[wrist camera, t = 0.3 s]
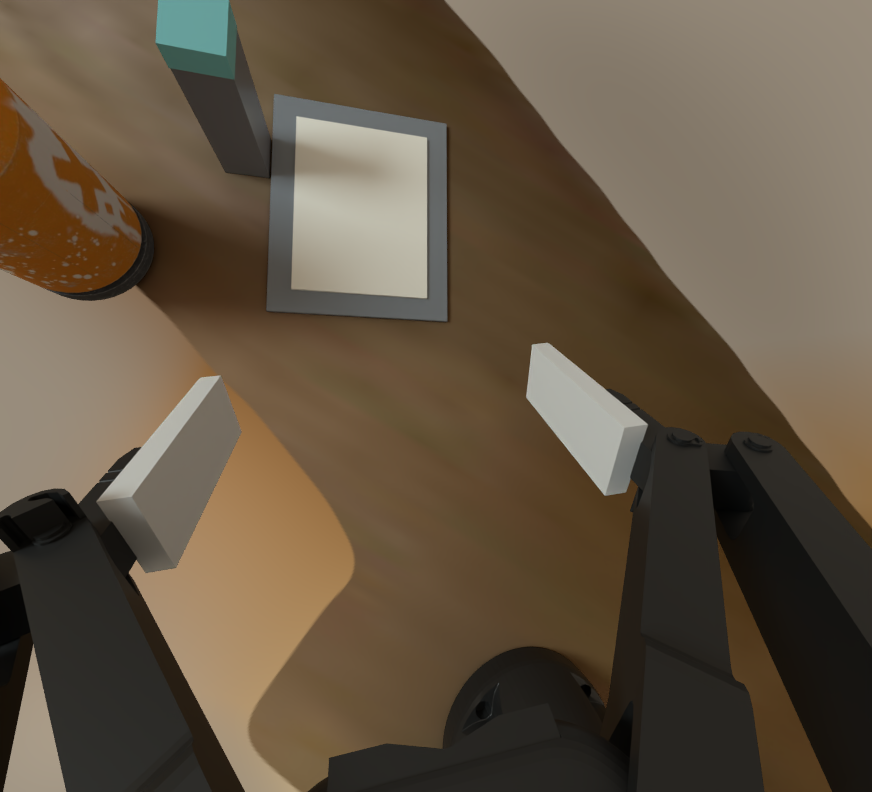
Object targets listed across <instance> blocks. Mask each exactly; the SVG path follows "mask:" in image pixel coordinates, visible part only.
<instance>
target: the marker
mask: <svg viewBox="0 0 872 792" xmlns="http://www.w3.org/2000/svg"><path fill="white" fill-rule="evenodd" d="M156 45H157V46H158V48H159V50H160V52H161V54H162V56H163V58H164V60H165V61H166V63H167V65H168V67H169V68H171V70H172V72H173V74H174V76H175V78H176V80H177V82H178V84H179V85H180V87H181V89H182V91H183V93H184V95H185V97H186V99H187V101H188V102H189V104H190V106H191V108H192V110H193V112H194V114H195V116H196V118H197V119H198V121H199V123H200V125H201V127H202V129H203V131H204V133H205V135H206V136H207V138H208V140H209V142H210V144H211V146H212V148H213V150H214V152H215V153H216V155H217V157H218V159H219V161H220V163H221V165H222V167H223V169H224V170H225V172H227V173H235V174H243V175H251V176H258V177H266V178H270V155H271V138H270V135H269V132H268V129H267V125H266V122H265V119H264V116H263V112H262V109H261V106H260V103H259V100H258V96H257V93H256V90H255V87H254V83H253V80H252V77H251V74H250V70H249V67H248V64H247V61H246V57H245V54H244V51H243V48H242V45H241V41H240V38H239V35H238V32H237V25H236V22H235V18H234V15H233V12H232V9H231V5H230V2H229V0H158V14H157V29H156Z"/></svg>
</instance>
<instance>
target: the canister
mask: <svg viewBox="0 0 872 792" xmlns="http://www.w3.org/2000/svg"><path fill="white" fill-rule="evenodd" d="M153 254H154V241H153V236H152V233H151V230H150V228H149V225H148V224H147V222H146V220H145V219H144V218H143V216H142V215H141V214H140V213H139V212H138V211H137V210H136V209H135V208H134V207H133V206H132V205H131V204H130V203H129V202H128V201H127V200H126V199H125V198H124V197H123V196H122V195H121V194H120V193H119V192H118V191H117V190H116V189H115V188H113V187H112V186H111V185H110V184H109V183H108V182H107V181H106V180H105V179H104V178H103V177H102V176H101V175H100V174H99V173H98V172H97V171H96V170H95V169H94V168H93V167H92V166H91V165H90V164H89V163H88V162H86V161H85V160H84V159H83V158H82V157H81V156H80V155H79V154H78V153H77V152H76V151H75V150H74V149H73V148H72V147H71V146H70V145H69V144H68V143H67V142H66V141H65V140H64V139H63V138H62V137H61V136H60V135H58V134H57V133H56V132H55V131H54V130H53V129H52V128H51V127H50V126H49V125H48V124H47V123H46V122H45V121H44V120H43V119H42V118H41V117H40V116H39V115H38V114H37V113H36V112H35V111H34V110H33V109H31V108H30V107H29V106H28V105H27V104H26V103H25V102H24V101H23V100H22V99H21V98H20V97H19V96H18V95H17V94H16V93H15V92H14V91H13V90H12V89H11V88H10V87H9V86H8V85H7V84H6V83H4V82H3V81H2V80H1V79H0V269H1V270H3V271H5V272H8V273H10V274H12V275H15V276H17V277H19V278H22V279H24V280H26V281H29V282H31V283H33V284H36V285H38V286H40V287H42V288H45V289H47V290H50V291H52V292H54V293H57V294H59V295H61V296H64V297H67V298H71V299H77V300H89V301H92V300H102V299H107V298H111V297H115V296H117V295H119V294H122V293H124V292H126V291H127V290H129V289H131V288H132V287H134V286H135V285H136V284H137V283H138V282H139V281H140V280H141V279H142V278H143V277H144V276H145V274H146V272H147V271H148V269H149V267H150V265H151V262H152V259H153Z"/></svg>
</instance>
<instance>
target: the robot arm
mask: <svg viewBox="0 0 872 792" xmlns="http://www.w3.org/2000/svg"><path fill="white" fill-rule="evenodd" d="M526 398H527V399H528V400H529V401H530V403H531V404H532V405H533V406H534V408H535V409H536V410H537V411H538V413H539V414H540V415H541V416H542V418H543V419H544V420H545V421H546V423H547V424H548V425H549V426H550V428H551V429H552V430H553V431H554V433H555V434H556V435H557V436H558V438H559V439H560V440H561V441H562V443H563V444H564V445H565V446H566V448H567V449H568V450H569V451H570V453H571V454H572V455H573V456H574V458H575V459H576V460H577V461H578V463H579V464H580V465H581V466H582V468H583V469H584V470H585V471H586V473H587V474H588V475H589V476H590V478H591V479H592V480H593V481H594V483H595V484H596V485H597V486H598V488H599V489H600V490H601V491H602V493H603V494H604V495H605V496H607V495H613V494H619V493H625V492H626V491H627V488H628V485H629V482H630V478H631V479H632V480H633V481H634V482H635V483H636V484H637V485H638V489H637V492H636V495H635V498H634V501H633V504H632V507H631V510H630V511H631V512H633V518H632V526H631V533H630V541H629V548H628V556H627V563H626V571H625V578H624V586H623V593H622V601H621V608H620V616H619V623H618V631H617V639H616V646H615V654H614V661H613V669H612V676H611V684H610V691H609V698H608V703H607V708H605V706H604V703H603V701H602V700H601V698H600V696H599V694H598V693H597V691H596V690H595V688H594V687H593V685H592V684H591V683H590V682H589V681H588V679H587V678H586V677H585V676H584V675H583V674H582V673H581V672H580V670H579V669H578V668H577V667H576V666H575V665H574V664H573V663H572V662H571V661H569V660H568V659H567V658H565V657H564V656H562V655H560V654H558V653H556V652H554V651H551V650H548V649H544V648H538V647H524V648H518V649H513V650H510V651H507V652H504V653H502V654H500V655H498V656H496V657H494V658H492V659H491V660H489V661H488V662H486V663H485V664H484V665H483V666H481V667H480V668H479V669H478V670H477V671H476V672H475V673H474V674H473V675H472V676H471V677H470V678H469V679H468V681H467V682H466V683H465V684H464V686H463V687H462V689H461V690H460V692H459V694H458V695H457V697H456V699H455V701H454V703H453V705H452V708H451V710H450V713H449V715H448V719H447V722H446V726H445V731H444V738H443V749H437V748H427V747H416V746H406V745H396V744H383V745H379V746H375V747H371V748H367V749H363V750H359V751H355V752H351V753H347V754H343V755H339V756H335V757H331V758H329V771H328V777H327V778H325V779H324V780H322V781H321V782H319V783H318V784H317V785H315V786H314V787H313V788H312V789H310V790H309V791H308V792H764V786H763V779H762V771H761V764H760V757H759V750H758V743H757V736H756V729H755V722H754V715H753V708H752V704H751V699H750V695H749V692H748V691H747V689H746V687H745V685H744V684H742V683H740V682H738V681H736V680H735V679H734V677H733V675H732V670H731V664H730V655H729V645H728V636H727V627H726V618H725V609H724V599H723V590H722V581H721V572H720V563H719V553H718V544H717V538H718V540H719V542H720V544H721V546H722V549H723V551H724V553H725V555H726V557H727V560H728V562H729V564H730V566H731V568H732V571H733V573H734V575H735V577H736V580H737V582H738V584H739V586H740V588H741V591H742V593H743V595H744V597H745V599H746V602H747V604H748V606H749V608H750V611H751V613H752V615H753V617H754V619H755V622H756V624H757V626H758V628H759V630H760V633H761V635H762V637H763V639H764V642H765V644H766V646H767V648H768V650H769V653H770V655H771V657H772V659H773V661H774V664H775V666H776V668H777V670H778V673H779V675H780V677H781V679H782V681H783V684H784V686H785V688H786V690H787V692H788V695H789V697H790V699H791V701H792V704H793V706H794V708H795V710H796V712H797V715H798V717H799V719H800V721H801V723H802V726H803V728H804V730H805V732H806V735H807V737H808V739H809V741H810V743H811V746H812V748H813V750H814V752H815V754H816V757H817V759H818V761H819V763H820V765H821V768H822V770H823V772H824V774H825V777H826V779H827V781H828V783H829V785H830V788H831V790H832V792H872V549H871V548H870V547H869V546H868V545H867V543H866V542H865V541H864V540H863V539H862V538H861V536H860V535H859V534H858V533H857V532H856V531H855V529H854V528H853V527H852V526H851V525H850V524H849V522H848V521H847V520H846V519H845V518H844V517H843V515H842V514H841V513H840V512H839V511H838V510H837V508H836V507H835V506H834V505H833V504H832V503H831V501H830V500H829V499H828V498H827V497H826V496H825V494H824V493H823V492H822V491H821V490H820V489H819V487H818V486H817V485H816V484H815V483H814V482H813V480H812V479H811V478H810V477H809V476H808V475H807V473H806V472H805V471H804V470H803V469H802V468H801V466H800V465H799V464H798V463H797V462H796V461H795V459H794V458H793V457H792V456H791V455H790V454H789V452H788V451H787V450H786V449H785V448H784V447H783V446H782V445H781V444H779V443H778V442H776V441H774V440H772V439H771V438H769V437H767V436H763V435H761V434H758V433H751V432H737V433H733V435H732V436H731V438H730V440H729V442H728V444H727V445H721V444H708V443H705V441H704V440H703V439H702V438H700V437H699V436H698V435H696V434H694V433H692V432H690V431H687V430H684V429H680V428H673V427H668V428H665V427H664V426H662V425H661V424H660V423H659V422H657V421H656V420H655V419H653V418H652V417H651V416H650V415H648V414H647V413H646V412H644V411H643V410H640V408H639V407H638V406H637V405H635V404H633V403H632V401H630V400H629V399H628V398H627V397H625V396H624V395H623V394H620V393H618V392H616V391H614V390H611V389H604V388H603V387H602V386H600V385H599V384H598V383H597V382H595V381H594V380H593V379H592V378H591V377H589V376H588V375H587V374H586V373H584V372H583V371H582V370H581V369H580V368H578V367H577V366H576V365H575V364H573V363H572V362H571V361H570V360H569V359H567V358H566V357H565V356H564V355H562V354H561V353H560V352H559V351H558V350H556V349H555V348H554V347H553V346H551V345H550V344H549V343H542V344H532V351H531V360H530V369H529V378H528V387H527V395H526ZM240 434H241V429H240V426H239V423H238V421H237V418H236V415H235V412H234V410H233V407H232V404H231V401H230V399H229V396H228V393H227V391H226V388H225V385H224V382H223V380H222V377H221V376H211V377H201V378H200V379H199V380H198V381H197V382H196V383H195V384H194V386H193V387H192V388H191V389H190V391H189V392H188V393H187V394H186V395H185V396H184V398H183V399H182V400H181V401H180V402H179V404H178V405H177V406H176V407H175V408H174V409H173V411H172V412H171V413H170V414H169V415H168V417H167V418H166V419H165V420H164V421H163V423H162V424H161V425H160V426H159V427H158V429H157V430H156V431H155V432H154V433H153V434H152V436H151V437H150V438H149V439H148V440H147V442H146V443H145V444H144V445H143V446H142V447H139V448H134V449H133V450H131V451H130V452H128V453H127V454H125V455H124V456H122V457H121V458H119V459H118V460H117V461H116V463H115V464H114V465H113V466H112V467H111V468H110V469H109V470H108V473H106V474H105V475H104V476H103V477H102V478H101V479H100V482H99V483H97V484H96V485H95V486H94V487H93V488H92V490H91V491H90V492H89V493H88V494H87V495H86V496H85V497H84V498H83V500H82V501H81V502H80V503H79V504H77V502H76V501H75V500H74V498H73V497H72V496H71V494H70V493H69V492H68V491H66V490H65V489H51V490H45V491H41V492H38V493H35V494H32V495H30V496H27V497H25V498H23V499H21V500H19V501H17V502H15V503H13V504H11V505H10V506H8V507H7V508H6V509H4V510H3V511H1V512H0V539H1V540H2V541H3V542H4V544H5V545H7V547H8V548H9V549H10V550H11V551H9V552H5V553H3V554H0V792H3V788H4V784H5V779H6V774H7V770H8V765H9V760H10V755H11V750H12V745H13V740H14V735H15V731H16V725H17V721H18V716H19V711H20V706H21V701H22V696H23V692H24V687H25V682H26V677H27V672H28V667H29V662H30V657H31V652H32V648H33V644H34V648H35V653H36V657H37V662H38V666H39V671H40V675H41V680H42V684H43V689H44V693H45V698H46V702H47V707H48V711H49V716H50V720H51V725H52V729H53V733H54V738H55V743H56V747H57V752H58V756H59V761H60V765H61V770H62V774H63V778H64V783H65V788H66V792H245V791H244V789H243V787H242V785H241V783H240V781H239V780H238V778H237V776H236V774H235V772H234V770H233V768H232V766H231V764H230V762H229V760H228V759H227V757H226V755H225V753H224V751H223V749H222V747H221V745H220V743H219V741H218V740H217V738H216V736H215V734H214V732H213V730H212V728H211V726H210V724H209V722H208V720H207V719H206V717H205V715H204V713H203V711H202V709H201V707H200V705H199V703H198V701H197V700H196V698H195V696H194V694H193V692H192V690H191V688H190V686H189V684H188V682H187V680H186V679H185V677H184V675H183V673H182V671H181V669H180V667H179V665H178V663H177V661H176V660H175V658H174V656H173V654H172V652H171V650H170V648H169V646H168V644H167V643H166V641H165V639H164V637H163V635H162V633H161V631H160V629H159V627H158V625H157V623H156V622H155V620H154V618H153V616H152V614H151V612H150V610H149V608H148V606H147V604H146V602H145V601H144V599H143V597H142V595H141V593H140V591H139V589H138V588H137V585H136V584H135V582H134V580H133V579H132V577H131V576H130V574H129V571H130V569H131V568H132V566H133V564H134V562H135V561H136V560H137V561H138V563H139V564H140V565H141V567H142V568H143V570H144V571H145V572H146V573H148V572H155V571H161V570H167V569H173V568H176V567H177V565H178V563H179V560H180V558H181V556H182V554H183V552H184V550H185V548H186V546H187V544H188V542H189V540H190V538H191V536H192V534H193V531H194V529H195V527H196V525H197V523H198V521H199V519H200V517H201V515H202V513H203V511H204V509H205V507H206V505H207V502H208V500H209V498H210V496H211V494H212V492H213V490H214V488H215V486H216V484H217V482H218V479H219V478H220V475H221V473H222V471H223V469H224V467H225V465H226V463H227V461H228V459H229V457H230V455H231V453H232V451H233V449H234V447H235V444H236V442H237V440H238V438H239V436H240Z"/></svg>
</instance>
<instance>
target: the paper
mask: <svg viewBox="0 0 872 792" xmlns="http://www.w3.org/2000/svg"><path fill="white" fill-rule="evenodd" d="M266 311H267V312H284V313H301V314H318V315H335V316H352V317H370V318H387V319H404V320H421V321H438V322H447V153H446V124H444V123H438V122H432V121H427V120H421V119H415V118H409V117H404V116H398V115H392V114H387V113H381V112H375V111H369V110H364V109H358V108H352V107H346V106H341V105H335V104H329V103H323V102H318V101H312V100H306V99H300V98H295V97H289V96H283V95H277V94H274V112H273V140H272V167H271V195H270V223H269V251H268V279H267V307H266Z"/></svg>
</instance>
